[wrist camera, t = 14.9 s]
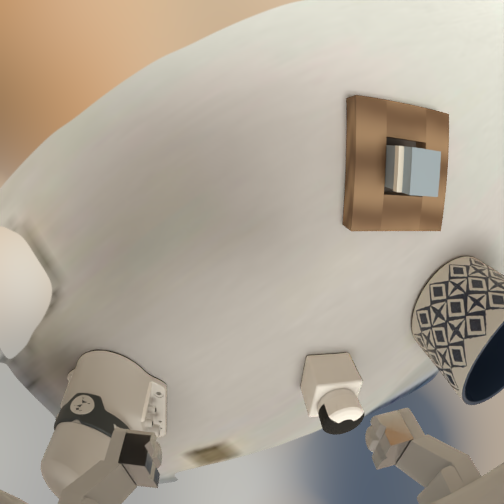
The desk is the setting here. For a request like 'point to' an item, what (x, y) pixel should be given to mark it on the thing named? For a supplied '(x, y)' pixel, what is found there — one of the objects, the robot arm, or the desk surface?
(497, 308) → the planter
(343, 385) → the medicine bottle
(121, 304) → the desk surface
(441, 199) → the wooden socket board
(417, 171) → the key block
